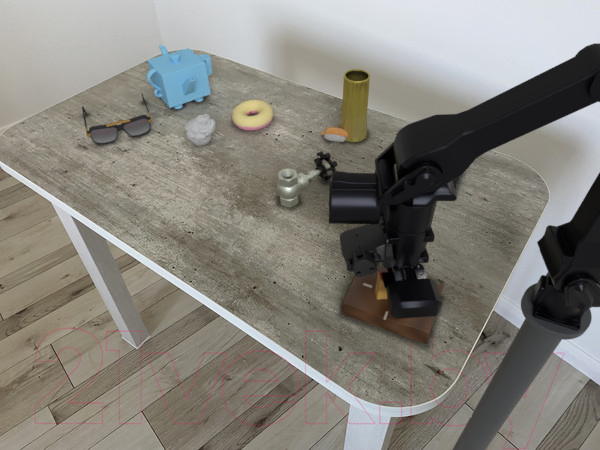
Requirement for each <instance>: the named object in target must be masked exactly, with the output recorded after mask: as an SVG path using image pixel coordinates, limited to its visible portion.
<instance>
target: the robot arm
mask: <svg viewBox="0 0 600 450" xmlns="http://www.w3.org/2000/svg"><path fill="white" fill-rule="evenodd" d="M596 103H600V43H599V42H598V43H591V44H589V45H586V46H584V47H583V48H581V49H580V50H578V52H577V53H576V54H575V55H574V56H573V57H571V58H569V59H567V60H565V61H563V62H561V63H558V64H557V65H554V66H553V67H551V68H548V69H547V70H545V71H542V72H540V73H539V74H537V75H534V76H533V77H531V78H529V79H527V80H525V81H523V82H521V83H519V84H517V85H515V86H513V87H511V88H509V89H507V90H505V91H503V92H501V93H499V94H497V95H495V96H493V97H491V98H489V99H486V100H485V101H483V102H481V103H479V104H477V105H475V106H473V107H470V108H468V109H467V110H464V111H461V112H458V113H448V114H442V113H441V114H434V115H431V116H428V117H426V118H422V119H419V120H417V121H413V122H410V123H408V124H406V125H404V126H403V127H402V128H401V129H399V130H398V131H397V133H396V134H395V135H396V136H395V138H394V141H393V142H392V143H391V144H390V145H389V146H387V148H386V149H384V150H383V151H382V152H380V154H379V155H378V156H377V157H376V158H374V168H375V169H374V172H347V171H339V170H336V171H333V172H332V171H331V173H332V176H331V178H330V181H331V182H330V181H329V186H328V225H330V224H331V225H334V224H335V225H360V226H357V227H354V228H351V229H347V230H345V231H343V232H341V233H340V235H339V244H340V250H341V255H342V257H343V259H344V261H345V264H346V270H347V272H349V273H352V272H353V274H354V275H355V276H357V277H362V276H366V275H369V274H373V273H375V272H376V271H377V265H378V266H379V265H380V264H382V267H384V268H387V272H382V273H381V274H382V279H383V283H384V287H385V288H386V289H387V300H388V304H389V308H390V313H391V316H393V317H394V318H396V319H401V318H416V317H431V316H435V317H437V316H438V315H439V314H440V312H441V308H442V306H443V302H442V298H441V297H440V295H439V292H438V289H437V286H436V284H437V283H436V281H434V280H432V279H431V278H429V277H428V274H427V272H426V268H425V266H424V264H426V263H427V264H428V263H429V260H430V256H429V253H428V250H427V244H428V243H433V242H435V236H436V235H435V233H434V230H433V228H432V225H433V224H432V223H433V219H434V216H435V211H436V208H437V205H438V204H437V203H438V202H455V201H457V199H458V196H457V193H456V189H455V188H454V185H453V180H454V179H456V178H458V177H459V176H460V177H461V176H462V175H463V174H464V173H465V172H466V171H467V170H468V169H469V168H470V167H471V165H472V164H473V163H474V162H475V160H476V159H478V158H479V157H481V156H482V155H484V154H486V153H488V152H490V151H492V150H494V149H496V148H499V147H501V146H503V145H505V144H508V143H510V142H511V141H512V142H513V141H515V140H516V139H519V138H521V137H523V136H525V135H527V134H530V133H532V132H534V131H537V130H539V129H540V128H543V127H545V126H547V125H549V124H551V123H554V122H557V121H558V120H561V119H564V118H565V117H568V116H569V115H571V114H573V113H576V112H579V111H581V110H583V109H585V108H588V107H590V106H591V105H594V104H596ZM460 177H459V178H460ZM536 243H537V246H538V248H539V253H540V255H541V259H542V260H543V263H544V265H545V267H546V270H547V273H546V274H545V275H544V274H542V275H540V277H539V279H538V280H537V282H536V283H537V284H536V283H535V284H536V286H535V288H534V290H533V295H532V302H531V303H532V304H534V305H533V313H532V315H533V316H534V317H535V318H538V319H541V320H544V321H547V322H551V323H554V324H557V325H560V326H563V327H566V328H570V329H573V330H576V331H578V330H579V329H580V328H581V318H582V317H583V315H584V314H585V312H586V311H587V310H588V309H589V308H590V309H592V308H600V171H599V172H598V174H597V176H596V178H595V179H594V181H593V182H592V183H591V186H590V188H589V190H588V191H587V193H586V194H585V196H584V198H583V200H582V201H581V203H580V205H579V206H578V208H577V210H576V211H575V213H574V215H573V217H572V218H571V220H570V221H568V222H565V223H562V224H559V225H557V226H556V225H551V224H550V225H549V224H548V225H547V226H546V227H545V231H544V233H543V236H542V237H541V238H540V239H539V240H538V241H537V242H536ZM536 314H537V315H536ZM575 326H576V327H575Z"/></svg>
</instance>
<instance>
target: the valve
mask: <svg viewBox="0 0 600 450" xmlns="http://www.w3.org/2000/svg"><path fill="white" fill-rule="evenodd" d="M331 157H332V156H331V153H330V152H326V153H324V151H322V150H320V151H318V152H316V158H314V160H313V162H314V164H315V169H310V170H309V171H307V172H306V173H303V172H299V173H297V170H296V169H293V168H288V167H287V168H283V169H281V170H279V171H278V172H277V176H278V182H277V187H276V189H277V194H278V195H279V201H280V205H281V206H283V207H286V208H292V207H294V206H296V205H298V204H299V193H300V190H304V189H306V188H308V187H309V183H310V182H313V181H315V180H316V179H318V177H319V178H321V179H322V180H323V182H325V183H326V182H328V181H329V182H331V176H332V172H333V171H337V169H336V167H337V166H338V162H337V161H336V160H332V159H331ZM323 161H326V162H325V163H323ZM329 172H331V173H329Z"/></svg>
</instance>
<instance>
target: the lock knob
mask: <svg viewBox="0 0 600 450" xmlns="http://www.w3.org/2000/svg"><path fill="white" fill-rule="evenodd" d="M381 273H382V272H379V273H378V275H377V281H376V288H375V293H376V298H377V300H379V299H387V289H386V288H385V287H384V283H383V279H382V274H381Z"/></svg>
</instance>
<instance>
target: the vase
mask: <svg viewBox="0 0 600 450" xmlns="http://www.w3.org/2000/svg"><path fill="white" fill-rule="evenodd" d="M370 79H371V75H370V73H369V71H367V70H364V69H360V68H352V69H349V70H347V71H344V73H343V86H342V100H341V110H340V111H341V112H340V123H339V128H342V129H343V130H345V131H346V132H347V133H348V135H349V137H348V138H346V140H345V141H344V142H348V143H359V142H362V141H364V140H365V139H366V138H367V135H368V133H367V132H368V131H367V129H368V106H369V93H370V92H369V91H370Z"/></svg>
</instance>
